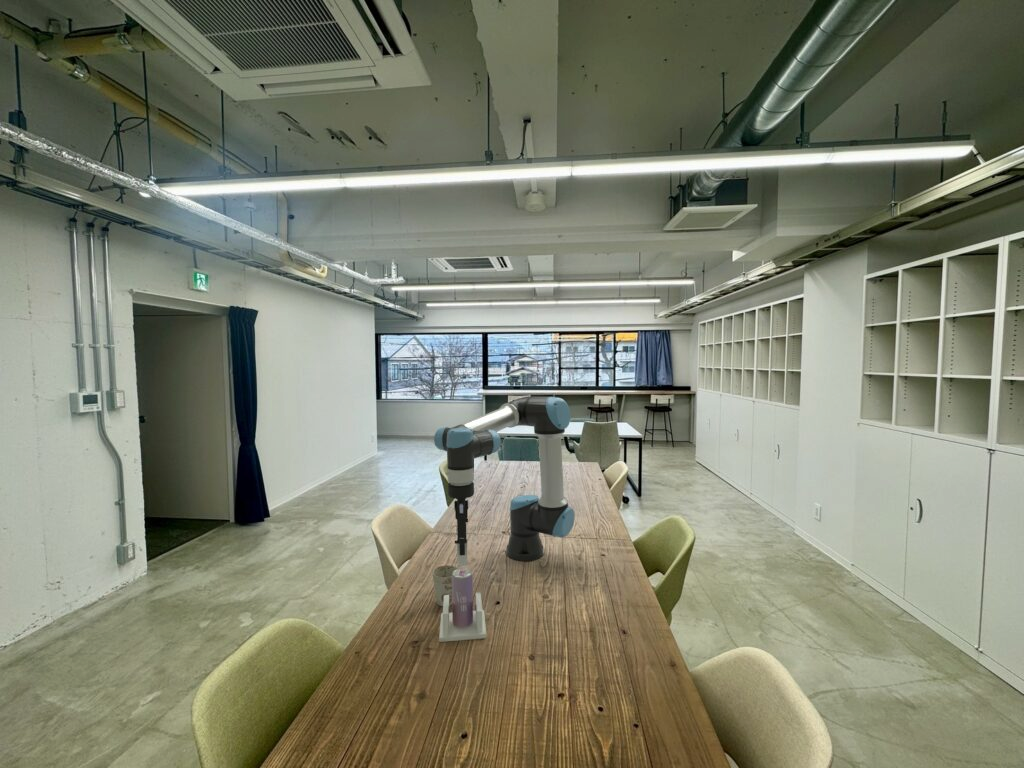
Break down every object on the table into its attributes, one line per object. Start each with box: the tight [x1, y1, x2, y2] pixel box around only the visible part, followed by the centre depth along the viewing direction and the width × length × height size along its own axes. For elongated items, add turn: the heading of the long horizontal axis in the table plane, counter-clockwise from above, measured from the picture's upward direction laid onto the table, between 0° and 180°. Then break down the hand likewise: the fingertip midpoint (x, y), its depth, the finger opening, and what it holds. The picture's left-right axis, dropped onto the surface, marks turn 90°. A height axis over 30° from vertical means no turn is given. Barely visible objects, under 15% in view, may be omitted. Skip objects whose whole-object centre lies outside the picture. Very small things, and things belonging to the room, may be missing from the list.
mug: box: [432, 565, 459, 607], centre depth 139 cm, size 8×13×10 cm, turn 15°
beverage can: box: [451, 567, 474, 628], centre depth 123 cm, size 6×6×15 cm
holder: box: [438, 592, 487, 643], centre depth 123 cm, size 12×13×7 cm
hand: (462, 554), depth 123 cm, fingers open, 13 cm apart
